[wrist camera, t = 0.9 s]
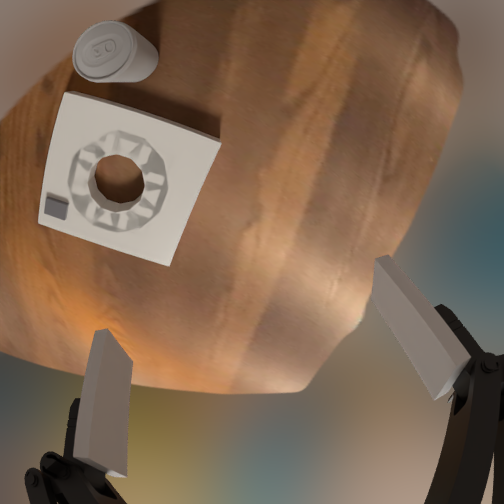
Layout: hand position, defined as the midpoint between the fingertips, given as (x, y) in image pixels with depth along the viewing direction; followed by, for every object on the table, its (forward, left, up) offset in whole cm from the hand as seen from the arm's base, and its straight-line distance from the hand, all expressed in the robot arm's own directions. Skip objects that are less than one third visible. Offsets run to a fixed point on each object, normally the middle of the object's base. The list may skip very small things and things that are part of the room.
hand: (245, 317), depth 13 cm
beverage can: (-13, +9, -23) cm, 28 cm away
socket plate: (-10, -4, -23) cm, 25 cm away
